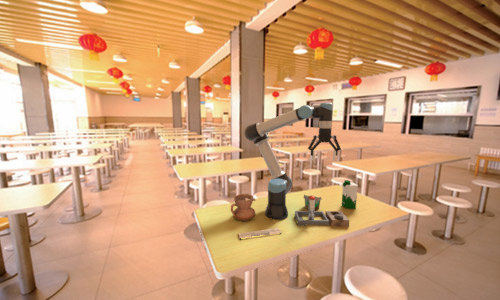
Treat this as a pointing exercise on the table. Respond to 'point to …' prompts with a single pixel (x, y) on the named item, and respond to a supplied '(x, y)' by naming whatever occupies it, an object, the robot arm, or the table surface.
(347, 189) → the milk carton
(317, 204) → the half moon wedge
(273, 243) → the table surface
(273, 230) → the newspaper
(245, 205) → the ceramic jug
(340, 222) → the block
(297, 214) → the tray
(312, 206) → the pin
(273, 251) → the table surface
